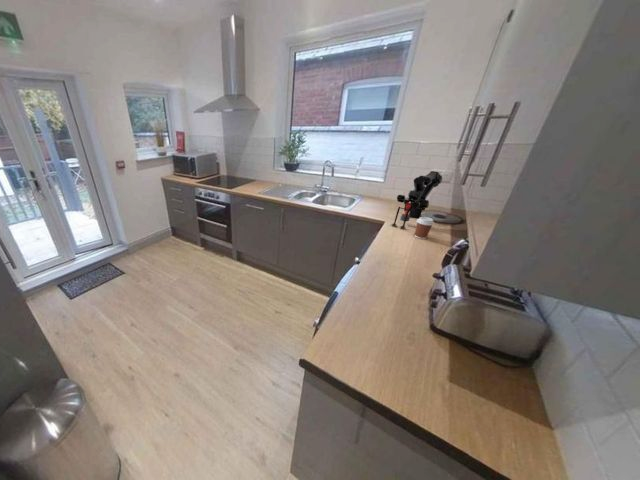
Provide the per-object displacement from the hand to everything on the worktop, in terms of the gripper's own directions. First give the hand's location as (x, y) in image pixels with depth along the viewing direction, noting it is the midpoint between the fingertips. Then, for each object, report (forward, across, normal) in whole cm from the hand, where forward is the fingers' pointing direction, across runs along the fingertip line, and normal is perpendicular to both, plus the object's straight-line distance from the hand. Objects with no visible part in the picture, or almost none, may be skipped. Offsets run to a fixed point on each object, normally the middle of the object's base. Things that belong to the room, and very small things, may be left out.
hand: (406, 211), depth 172 cm
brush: (+4, 0, +6) cm, 7 cm away
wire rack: (+12, 0, +2) cm, 12 cm away
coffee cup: (+15, +15, -2) cm, 21 cm away
